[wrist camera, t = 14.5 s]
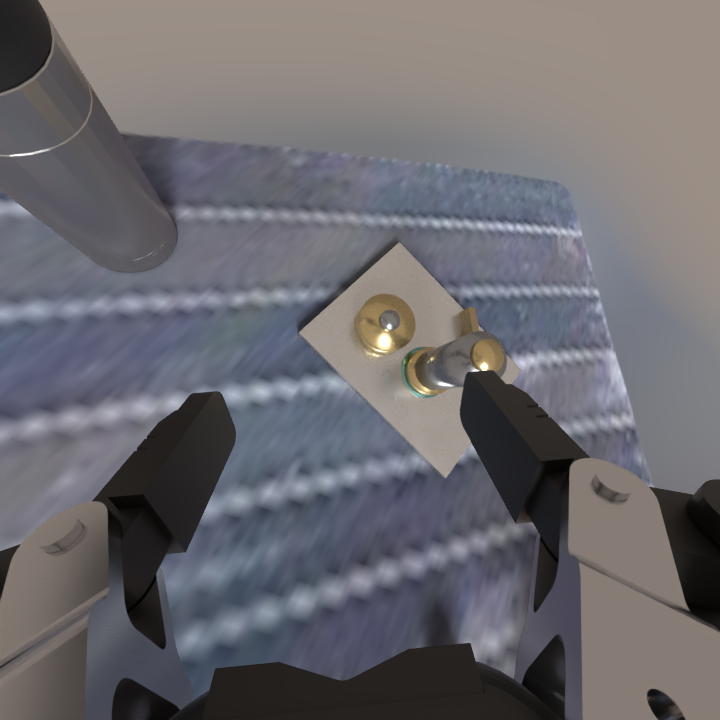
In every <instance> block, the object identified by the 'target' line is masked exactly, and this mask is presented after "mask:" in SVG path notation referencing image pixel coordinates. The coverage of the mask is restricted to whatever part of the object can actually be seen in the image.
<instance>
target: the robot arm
mask: <svg viewBox="0 0 720 720" xmlns="http://www.w3.org/2000/svg"><path fill="white" fill-rule="evenodd" d="M0 190H1V191H2V192H4V193H5V194H6V195H8V196H9V197H10V198H11V199H13V200H14V201H15V202H17V203H18V204H19V205H21V206H22V207H23V208H25V209H26V210H27V211H29V212H30V213H31V214H32V215H34V216H35V217H36V218H38V219H39V220H40V221H42V222H43V223H44V224H46V225H47V226H48V227H50V228H51V229H52V230H53V231H55V232H56V233H57V234H59V235H60V236H61V237H62V238H64V239H65V240H66V241H68V242H69V243H70V244H72V245H73V246H74V247H76V248H77V249H78V250H80V251H81V252H82V253H83V254H85V255H86V256H87V257H89V258H90V259H91V260H93V261H94V262H96V263H97V264H99V265H101V266H103V267H105V268H108V269H110V270H115V271H119V272H139V271H145V270H148V269H151V268H153V267H155V266H157V265H159V264H161V263H162V262H163V261H165V260H166V259H167V258H168V257H169V256H170V254H171V253H172V252H173V250H174V247H175V245H176V240H177V231H176V227H175V224H174V222H173V220H172V218H171V217H170V215H169V213H168V212H167V210H166V208H165V207H164V205H163V204H162V202H161V200H160V199H159V197H158V195H157V193H156V192H155V190H154V188H153V187H152V185H151V184H150V182H149V180H148V179H147V177H146V175H145V174H144V172H143V170H142V169H141V167H140V166H139V164H138V162H137V161H136V159H135V157H134V156H133V154H132V152H131V151H130V149H129V148H128V146H127V144H126V143H125V141H124V139H123V138H122V136H121V134H120V133H119V131H118V130H117V128H116V126H115V125H114V123H113V121H112V120H111V118H110V117H109V115H108V113H107V112H106V110H105V108H104V107H103V105H102V103H101V102H100V100H99V99H98V97H97V95H96V94H95V92H94V90H93V89H92V87H91V85H90V84H89V82H88V81H87V79H86V77H85V76H84V74H83V73H82V71H81V70H80V68H79V66H78V65H77V63H76V61H75V60H74V58H73V57H72V55H71V53H70V52H69V50H68V48H67V47H66V45H65V43H64V42H63V40H62V39H61V37H60V35H59V34H58V32H57V30H56V29H55V27H54V26H53V24H52V22H51V21H50V19H49V17H48V16H47V14H46V13H45V11H44V9H43V8H42V6H41V4H40V3H39V1H38V0H0ZM460 419H461V423H462V426H463V428H464V430H465V432H466V433H467V435H468V437H469V439H470V441H471V443H472V444H473V446H474V448H475V450H476V452H477V454H478V455H479V457H480V459H481V461H482V463H483V465H484V466H485V468H486V470H487V472H488V474H489V476H490V477H491V479H492V481H493V483H494V485H495V487H496V488H497V490H498V492H499V494H500V496H501V498H502V499H503V501H504V503H505V505H506V507H507V509H508V510H509V512H510V514H511V516H512V518H513V520H514V521H515V523H526V522H533V524H534V525H535V527H536V529H537V530H538V534H537V536H536V541H535V550H534V559H533V567H532V576H531V585H530V594H529V603H528V612H527V618H526V623H525V627H524V630H523V633H522V636H521V640H520V644H519V649H518V655H517V661H516V669H515V677H514V679H512V678H511V677H509V676H507V675H506V674H504V673H503V672H501V671H499V670H497V669H494V668H492V667H490V666H488V665H485V664H483V663H480V662H476V661H475V658H474V654H473V651H472V647H471V644H470V643H465V644H455V645H445V646H435V647H425V648H415V649H408V650H406V651H404V652H402V653H400V654H398V655H396V656H394V657H392V658H390V659H388V660H386V661H384V662H382V663H381V664H379V665H377V666H375V667H373V668H371V669H369V670H367V671H365V672H363V673H361V674H359V675H357V676H355V677H353V678H351V679H349V680H344V681H340V680H335V679H332V678H329V677H326V676H322V675H319V674H316V673H313V672H309V671H306V670H303V669H300V668H296V667H293V666H290V665H287V664H283V663H280V662H276V663H266V664H256V665H246V666H236V667H226V668H216V669H215V672H214V676H213V679H212V683H211V687H210V690H209V691H208V692H206V693H204V694H203V695H201V696H200V697H198V698H197V699H194V694H193V690H192V686H191V683H190V680H189V677H188V675H187V672H186V670H185V668H184V666H183V664H182V663H181V660H180V658H179V655H178V652H177V649H176V644H175V638H174V633H173V627H172V621H171V616H170V610H169V604H168V598H167V593H166V587H165V581H164V576H163V572H162V570H161V568H160V565H161V563H162V561H163V559H164V557H165V555H166V554H171V553H182V552H186V550H187V548H188V546H189V544H190V542H191V539H192V537H193V535H194V533H195V531H196V528H197V526H198V524H199V522H200V519H201V517H202V515H203V513H204V511H205V508H206V506H207V504H208V502H209V500H210V497H211V495H212V493H213V491H214V489H215V486H216V484H217V482H218V480H219V478H220V475H221V473H222V471H223V469H224V466H225V464H226V462H227V460H228V458H229V455H230V453H231V451H232V449H233V447H234V444H235V438H236V431H235V426H234V424H233V421H232V418H231V416H230V413H229V411H228V408H227V406H226V403H225V400H224V398H223V396H222V394H221V393H220V392H218V391H216V392H203V393H193V394H191V395H190V396H189V397H188V398H187V399H186V401H185V402H184V403H183V404H182V406H181V407H180V408H179V409H178V410H176V411H174V412H173V413H171V414H170V415H169V416H167V417H166V418H164V419H163V420H162V421H160V422H159V423H158V424H157V425H156V426H155V428H154V429H153V430H152V431H151V432H150V434H149V435H148V436H147V439H144V441H143V442H142V443H141V444H140V445H139V447H138V448H137V451H134V452H133V454H132V455H131V456H130V457H129V458H128V459H127V461H126V462H125V463H124V464H123V465H122V467H121V468H120V469H119V470H118V471H117V472H116V474H115V475H114V476H113V477H112V478H111V480H110V481H109V482H108V483H107V484H106V485H105V487H104V488H103V489H102V490H101V491H100V493H99V494H98V495H97V496H96V497H95V498H94V500H93V501H92V502H85V503H81V504H78V505H75V506H73V507H70V508H68V509H66V510H64V511H62V512H60V513H58V514H57V515H55V516H53V517H52V518H50V519H49V520H47V521H46V522H45V523H43V524H42V525H41V526H39V527H38V528H37V529H36V530H35V531H33V532H32V533H31V534H30V535H29V536H28V537H27V538H26V539H25V540H24V541H23V543H22V544H20V545H17V546H14V547H11V548H8V549H5V550H3V551H0V720H720V480H709V481H707V482H705V483H704V484H703V485H702V486H701V487H700V488H699V489H698V490H697V492H696V493H695V494H694V495H692V494H686V493H680V492H675V491H669V490H664V489H658V488H653V487H648V486H647V485H646V484H645V483H644V482H643V481H642V480H641V479H639V478H638V477H637V476H635V475H634V474H632V473H631V472H629V471H627V470H626V469H624V468H622V467H620V466H618V465H615V464H613V463H610V462H607V461H604V460H600V459H593V458H590V457H589V456H588V455H587V454H586V453H585V452H584V451H583V450H582V449H581V448H580V447H579V446H578V445H577V444H576V443H575V442H574V441H573V440H572V439H571V438H570V437H569V436H568V435H567V434H566V433H565V432H564V431H563V429H562V428H561V427H560V426H559V425H558V424H557V423H556V422H555V421H554V420H553V419H552V418H551V417H550V418H549V417H548V414H547V413H546V412H545V411H544V410H543V409H542V408H541V407H538V404H537V403H536V402H535V401H534V400H533V399H532V398H531V397H530V396H529V395H528V394H527V393H526V392H524V391H522V390H520V389H519V388H517V387H515V386H513V385H512V384H506V383H505V382H504V381H503V380H502V379H501V378H500V377H499V376H498V375H497V374H496V372H494V371H493V370H486V371H473V372H467V374H466V376H465V380H464V386H463V392H462V398H461V404H460Z"/></svg>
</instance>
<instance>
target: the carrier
mask: <svg viewBox="0 0 720 720" xmlns="http://www.w3.org/2000/svg"><path fill="white" fill-rule="evenodd" d="M476 331H484V330H483V329H482V328H481V327H480V326H479V325H478V321H477V316H476V310H475V307H469V308H467V309H465V310H464V309H463V308H462V307H461V306H460V305H459V304H458V303H457V302H456V301H455V300H454V299H453V298H452V297H451V296H450V295H449V294H448V293H447V291H446V290H445V289H444V288H443V287H442V286H441V285H440V284H439V283H438V282H437V281H436V280H435V279H434V278H433V277H432V276H431V275H430V274H429V273H428V271H427V270H426V269H425V268H424V267H423V266H422V265H421V264H420V263H419V262H418V261H417V260H416V259H415V258H414V257H413V256H412V255H411V254H410V253H409V251H408V250H407V249H406V248H405V247H404V246H403V245H402V244H401V243H400V242H399V243H398V244H397V245H396V246H394V247H393V248H392V249H391V250H390V251H389V252H388V253H387V254H386V255H384V256H383V257H382V258H381V259H380V260H379V261H378V262H377V263H376V264H374V265H373V266H372V267H371V268H370V269H369V270H368V271H367V272H365V273H364V274H363V275H362V276H361V277H360V278H359V279H358V280H357V281H355V282H354V283H353V284H352V285H351V286H350V287H349V288H348V289H347V290H345V291H344V292H343V293H342V294H341V295H340V296H339V297H338V298H337V299H335V300H334V301H333V302H332V303H331V304H330V305H329V306H328V307H326V308H325V309H324V310H323V311H322V312H321V313H320V314H319V315H318V316H316V317H315V318H314V319H313V320H312V321H311V322H310V323H309V324H308V325H306V326H305V327H304V328H303V329H302V330H301V331H300V332H299V333H298V335H299V336H300V337H301V338H302V339H303V340H304V341H305V342H306V343H307V344H308V345H309V346H310V347H311V348H312V349H313V350H314V351H315V352H316V353H317V354H318V355H319V356H320V357H321V358H322V359H323V360H324V361H325V362H326V363H327V364H328V365H329V366H330V367H331V368H332V369H333V370H334V371H335V372H336V373H337V374H338V375H339V376H340V377H341V378H342V379H343V380H344V381H345V382H346V383H347V384H348V385H349V386H350V387H351V388H352V389H353V390H354V391H355V392H356V393H357V394H358V395H359V396H360V397H361V398H362V399H363V400H364V401H365V402H366V403H367V404H368V405H369V406H370V407H371V408H372V409H373V410H374V411H375V412H376V413H377V414H378V415H379V416H380V417H381V418H382V419H383V420H384V421H385V422H386V423H387V424H388V425H389V426H390V427H391V428H392V429H393V430H394V431H395V432H396V433H397V434H398V435H399V436H400V437H401V438H402V439H403V440H404V441H405V442H406V443H408V444H409V445H410V446H411V447H412V448H413V449H414V450H415V451H416V452H417V453H418V454H419V455H420V456H421V457H422V458H423V459H424V460H425V461H426V462H427V463H428V464H429V465H430V466H431V467H432V468H433V469H434V470H435V471H436V472H437V473H438V474H439V475H440V476H441V477H443V478H446V477H447V476H448V474H449V473H450V472H451V470H452V469H453V467H454V466H455V464H456V463H457V462H458V460H459V459H460V457H461V456H462V454H463V453H464V451H465V450H466V449H467V447H468V446H469V444H470V443H471V441H470V439H469V437H468V435H467V433H466V432H465V430H464V428H463V426H462V423H461V419H460V404H461V398H462V392H463V387H458V388H450V389H447V390H446V391H445V392H443V393H441V394H436V395H421V394H418V393H416V392H415V391H413V390H412V389H411V388H410V387H409V385H408V384H407V382H406V379H405V375H404V367H405V363H406V361H407V359H408V358H409V356H410V355H411V354H413V353H415V352H417V351H419V350H421V349H423V348H427V347H435V348H437V347H439V346H441V345H444V344H446V343H449V342H451V341H454V340H456V339H458V338H461V337H463V336H466V335H468V334H471V333H473V332H476ZM506 356H507V355H506ZM520 371H521V369H520V368H519V367H518V366H517V365H516V364H515V363H514V362H513V361H512V360H511V359H510V358H509V357H508V356H507V367H506V370H505V373H504V374H503V376H502V377H501V379H502V380H503V381H504V382H505V383H506V384H512V382H513V381H514V379H515V378H516V377H517V375H518V374H519V372H520Z"/></svg>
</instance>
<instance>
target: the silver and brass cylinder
mask: <svg viewBox="0 0 720 720" xmlns="http://www.w3.org/2000/svg"><path fill="white" fill-rule="evenodd" d="M506 367H507V356H506V352H505V349H504V347H503V345H502V343H501V342H500V341H499V339H498V338H497V337H495V336H494V335H493V334H491V333H489V332H486V331H476V332H473V333H471V334H468V335H466V336H463V337H461V338H458V339H456V340H454V341H451V342H449V343H446V344H444V345H441V346H439V347H437V348H435V347H427V348H423V349H421V350H419V351H417V352H415V353H413V354H411V355H410V356H409V358H408V359H407V361H406V363H405V367H404V375H405V379H406V382H407V384H408V385H409V387H410V388H411V389H412V390H413V391H415V392H416V393H418V394H421V395H436V394H441V393H443V392H445V391H446V390H447V389H450V388H458V387H463V386H464V380H465V376H466V374H467V372H473V371H486V370H493V371H494V372H496V374H497V375H498V376H499V377H500V378H501V377H502V376H503V374H504V373H505V370H506Z"/></svg>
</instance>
